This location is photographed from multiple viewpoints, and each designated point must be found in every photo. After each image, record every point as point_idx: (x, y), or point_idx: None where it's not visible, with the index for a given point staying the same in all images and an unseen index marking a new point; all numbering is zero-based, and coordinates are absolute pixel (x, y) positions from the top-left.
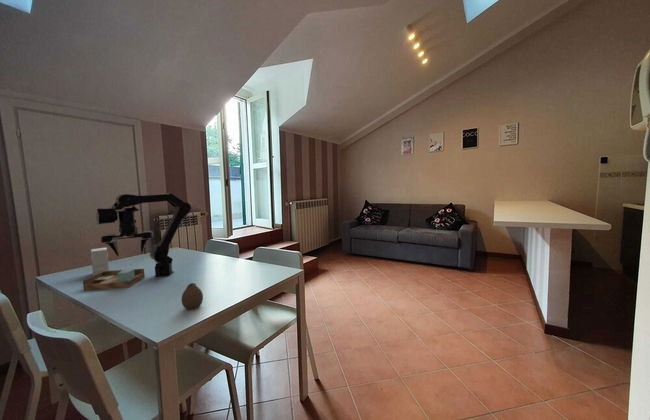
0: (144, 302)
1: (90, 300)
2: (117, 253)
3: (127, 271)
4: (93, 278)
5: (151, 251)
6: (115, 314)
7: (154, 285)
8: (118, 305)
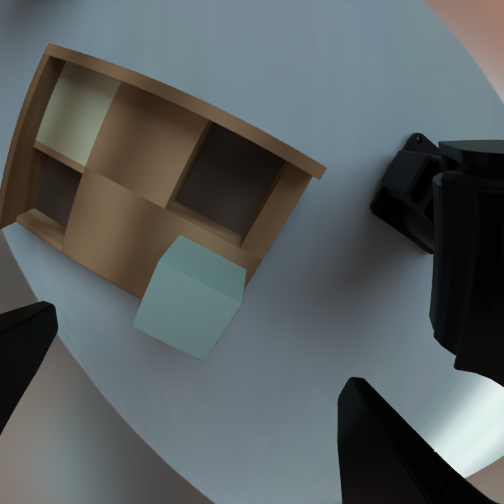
0: (263, 470)
1: (96, 368)
2: (36, 366)
3: (194, 333)
4: (22, 156)
5: (482, 270)
6: (199, 482)
7: (328, 364)
8: (197, 454)
